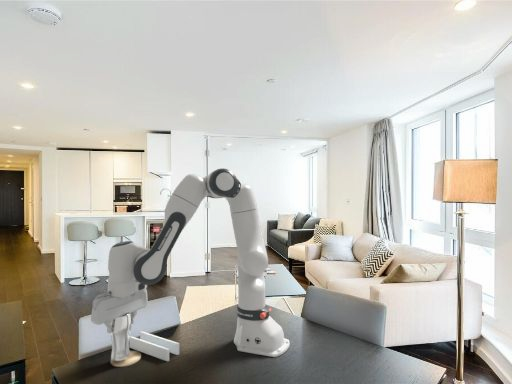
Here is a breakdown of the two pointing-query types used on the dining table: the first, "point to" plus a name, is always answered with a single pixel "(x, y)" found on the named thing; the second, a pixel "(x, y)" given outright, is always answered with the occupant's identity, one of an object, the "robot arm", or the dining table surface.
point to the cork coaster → (128, 360)
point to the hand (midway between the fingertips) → (120, 328)
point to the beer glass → (121, 337)
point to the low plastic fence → (154, 345)
